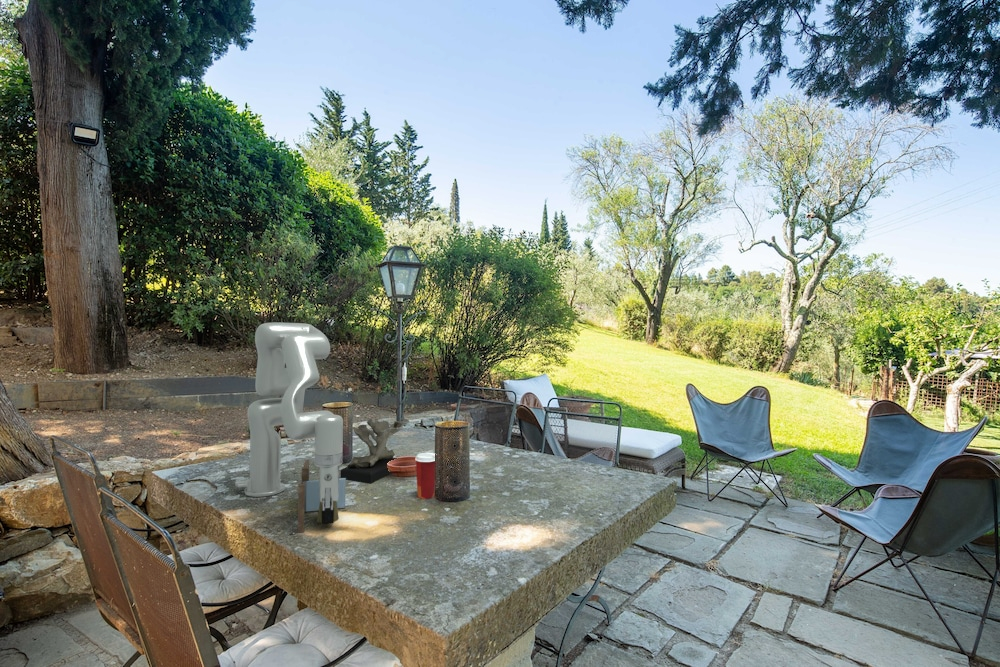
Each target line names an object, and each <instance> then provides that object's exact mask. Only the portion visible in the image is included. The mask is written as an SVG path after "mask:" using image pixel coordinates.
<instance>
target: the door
mask: <svg viewBox="0 0 1000 667" xmlns="http://www.w3.org/2000/svg"><path fill="white" fill-rule="evenodd" d="M346 481H347V480H346V478H340V477H339V497H338V501H337V508H338V509H343V508H344V509H345V508H346ZM303 484H305V508H304V513H305V512H315V511H319V504H320V493H319V479H316V480H315V479H314V480H309V481H303Z"/></svg>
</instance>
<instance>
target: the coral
mask: <svg viewBox="0 0 1000 667" xmlns="http://www.w3.org/2000/svg"><path fill="white" fill-rule="evenodd" d="M409 423H410V419H407V418H402V421H401V420H399V421H398V420H395V421H394V422H393V423H391V424H390V423H389V421H387V420H381V421H378V420H377V419H376V418H374V421H373V419H372V418H369V419H368V420H367V421H366V424H360V425H358V426H357V428H355V427H353V432H354V433H355V435H356V436H358V438H359V439H360V440H361V441H362V442H363V443H364V444H366V445H367V447H368V450H369V454H368V455H364V456H353V457H351V460H350V462H349V463H348V464H347V465H346V467H343V468H342V469H340V476H339V478H346V481H351V482H356V483H357V482H358V483H363V484H368V485H369V484H373V483H375V482H377V481H379V480H381V479H383V478H385V477H387V476H389V475H392V474H393V472H389V471H388V468H387V463H388V462H389V461H391V460H394V459H397V458H398V457H395V452H394V450H393V449H390V450H388V448H387V442H388V440H389V439H390V437H391V436H393V435H394V434H396V433H399V432H400V431H402V429H403V427H404V426H405V425H407V424H409ZM367 426H369V427H370V428H371V429H368V428H367ZM370 436H371V438H372V440H373V441H375V443H376V444H375V445H374V442H373V441H372V440H371V439H370Z"/></svg>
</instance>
